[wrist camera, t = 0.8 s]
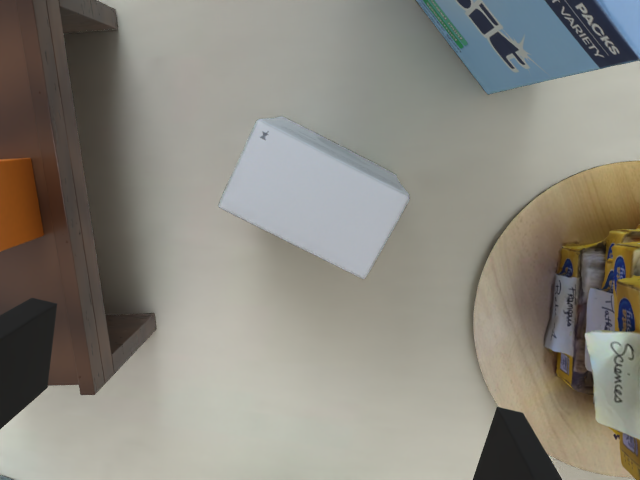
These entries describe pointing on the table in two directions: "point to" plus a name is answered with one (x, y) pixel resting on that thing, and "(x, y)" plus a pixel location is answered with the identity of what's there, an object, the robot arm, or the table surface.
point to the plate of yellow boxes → (569, 319)
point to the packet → (18, 203)
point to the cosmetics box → (315, 194)
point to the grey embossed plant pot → (4, 478)
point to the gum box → (536, 37)
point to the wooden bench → (58, 193)
